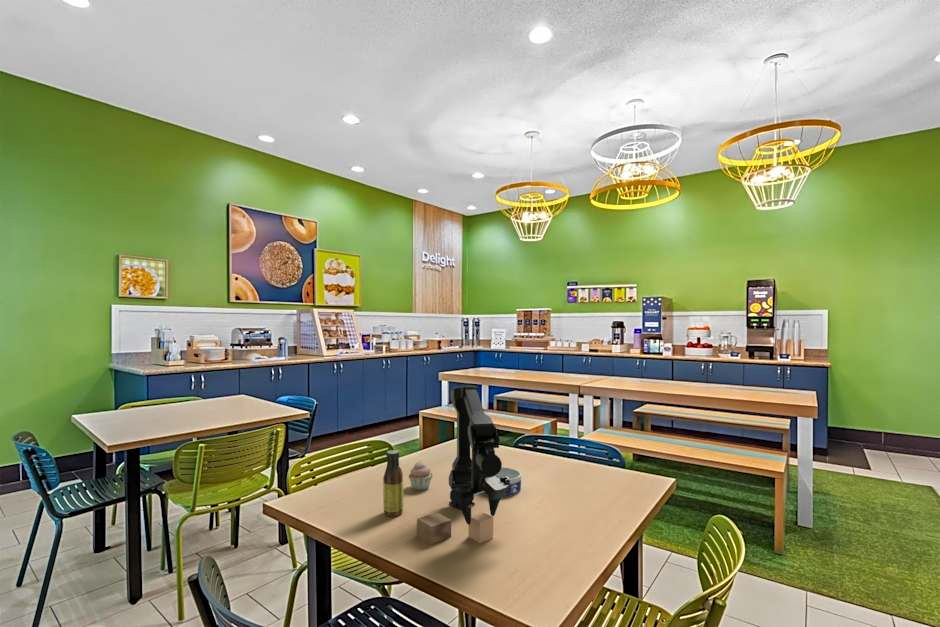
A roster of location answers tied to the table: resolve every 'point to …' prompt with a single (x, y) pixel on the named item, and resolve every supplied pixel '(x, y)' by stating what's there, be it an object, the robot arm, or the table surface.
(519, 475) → the dog bowl
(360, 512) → the table surface
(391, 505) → the sauce bottle
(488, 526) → the light wooden cube
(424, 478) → the cupcake
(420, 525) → the walnut block
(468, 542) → the table surface
